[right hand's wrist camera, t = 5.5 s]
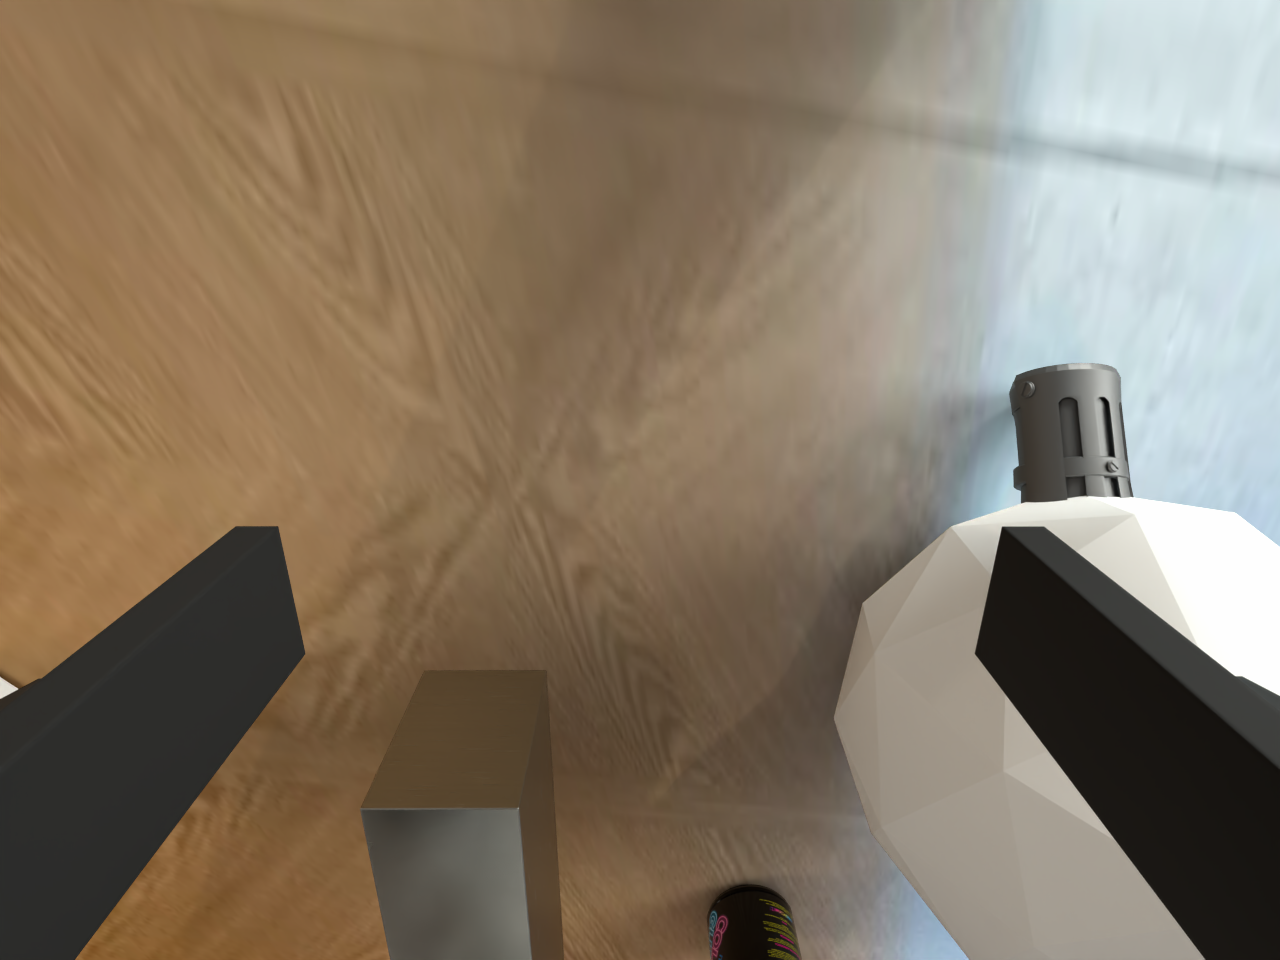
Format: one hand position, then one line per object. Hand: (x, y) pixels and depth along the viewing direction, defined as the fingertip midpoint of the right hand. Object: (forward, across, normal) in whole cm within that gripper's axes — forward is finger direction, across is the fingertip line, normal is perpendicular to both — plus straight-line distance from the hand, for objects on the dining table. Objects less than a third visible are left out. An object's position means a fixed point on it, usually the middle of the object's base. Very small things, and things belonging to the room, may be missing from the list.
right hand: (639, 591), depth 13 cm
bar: (+17, -8, -27) cm, 33 cm away
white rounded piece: (+27, +22, -15) cm, 38 cm away
